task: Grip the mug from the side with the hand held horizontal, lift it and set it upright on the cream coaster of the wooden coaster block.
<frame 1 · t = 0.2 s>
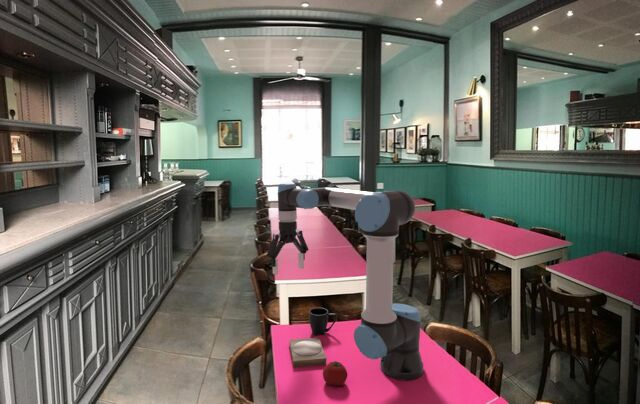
hand: (288, 271, 163), 27 cm above the table, tool pointing down, fingers open, 13 cm apart
mug: (322, 333, 167), on the table
wooden coaster block: (307, 354, 149), on the table
tomato: (335, 383, 131), on the table
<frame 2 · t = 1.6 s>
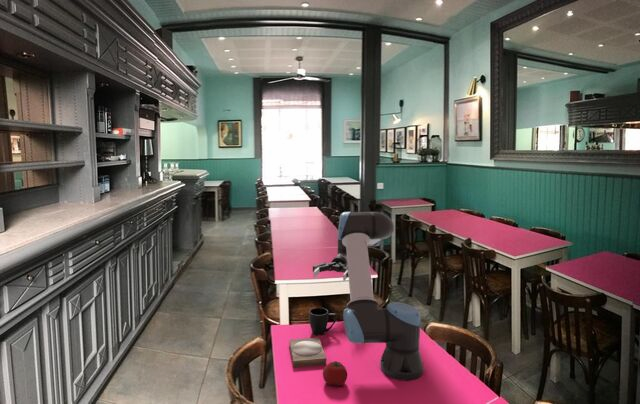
hand: (329, 276, 173), 22 cm above the table, tool horizontal, fingers open, 13 cm apart
nothing on the table moved.
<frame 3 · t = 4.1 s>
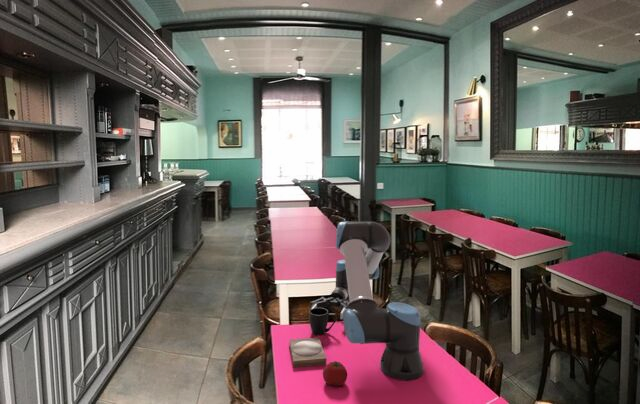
hand: (326, 314, 172), 6 cm above the table, tool horizontal, fingers open, 13 cm apart
nothing on the table moved.
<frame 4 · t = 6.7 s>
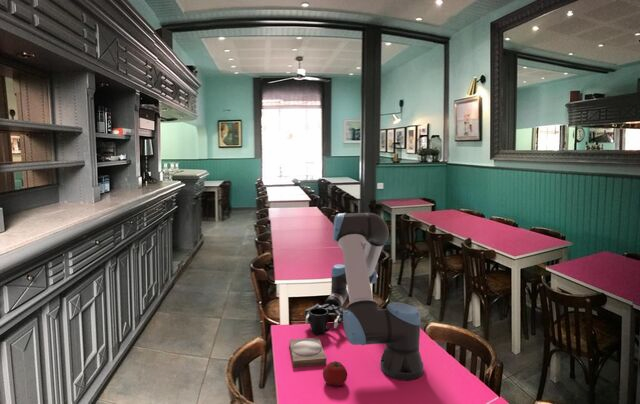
hand: (320, 323, 162), 6 cm above the table, tool horizontal, fingers closed on mug, 12 cm apart
mug: (322, 333, 167), on the table, touching gripper
everything else where it was.
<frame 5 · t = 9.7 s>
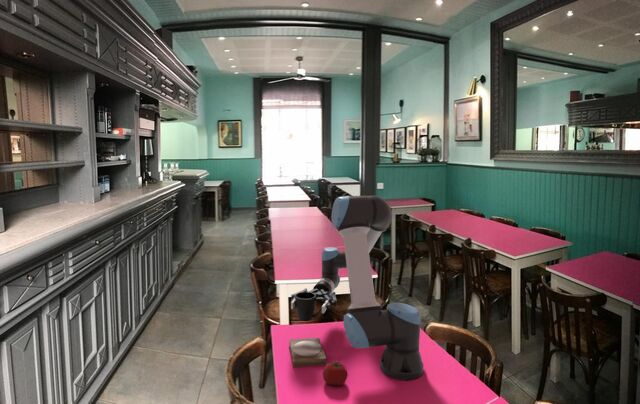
hand: (307, 307, 149), 18 cm above the table, tool horizontal, fingers closed on mug, 12 cm apart
mug: (310, 319, 153), point 12 cm above the table, touching gripper
everything else where it was.
when the fingers open (10 cm above the table, at t = 12.8 s): mug drops 1 cm, resting on wooden coaster block.
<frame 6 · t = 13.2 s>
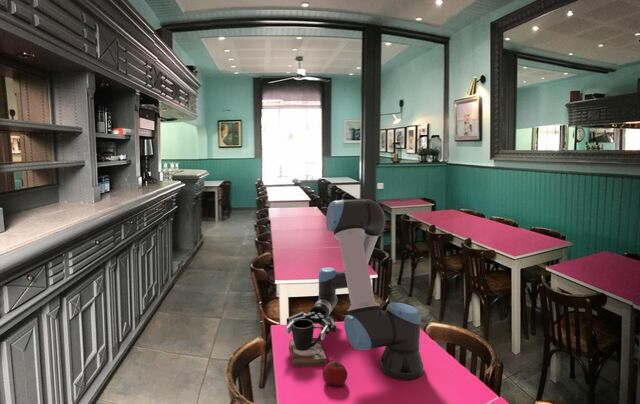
hand: (304, 333, 144), 10 cm above the table, tool horizontal, fingers open, 13 cm apart
mug: (307, 348, 148), point 3 cm above the table, touching wooden coaster block
everything else where it was.
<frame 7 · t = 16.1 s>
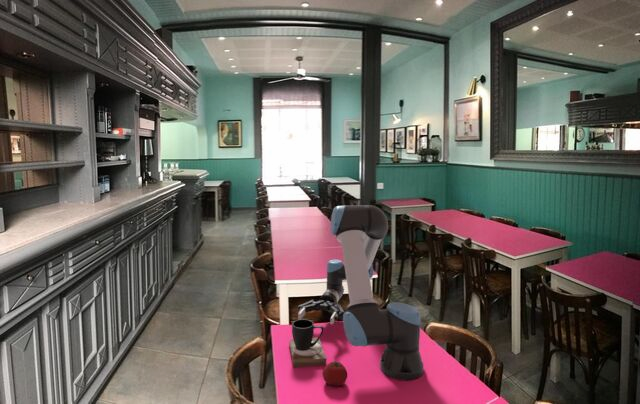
hand: (314, 319, 157), 10 cm above the table, tool horizontal, fingers open, 13 cm apart
nothing on the table moved.
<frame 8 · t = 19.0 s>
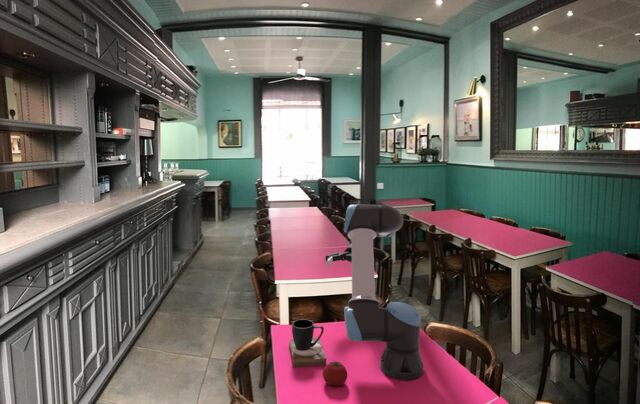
hand: (342, 264, 170), 28 cm above the table, tool horizontal, fingers open, 13 cm apart
nothing on the table moved.
at the end: mug inside the target area on the wooden coaster block (0.2 cm from its centre), point 2.6 cm above the wooden coaster block's base; mug tilted 0°; the gripper is holding nothing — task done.
